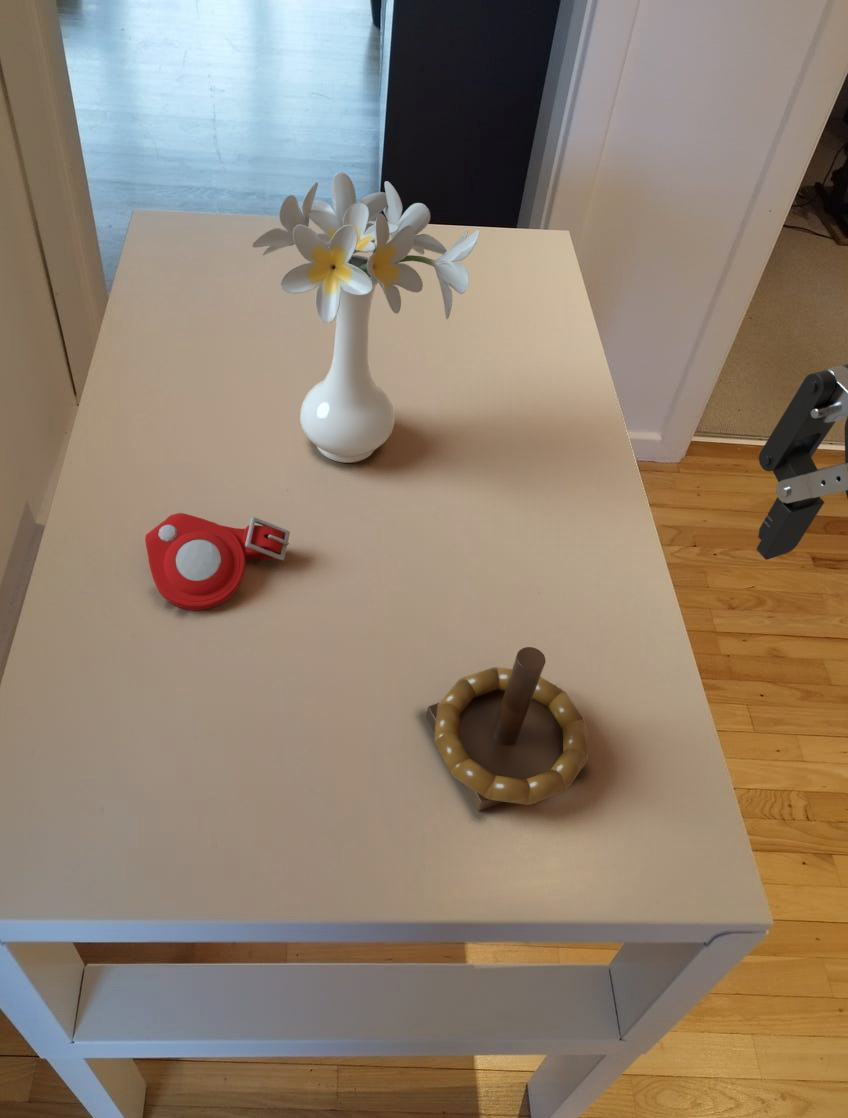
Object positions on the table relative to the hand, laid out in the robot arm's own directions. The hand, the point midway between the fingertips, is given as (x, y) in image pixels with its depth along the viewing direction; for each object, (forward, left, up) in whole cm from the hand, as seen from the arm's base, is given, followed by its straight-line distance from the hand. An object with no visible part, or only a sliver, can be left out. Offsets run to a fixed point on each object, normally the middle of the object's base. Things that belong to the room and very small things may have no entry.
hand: (826, 608), depth 47 cm
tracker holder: (+23, -36, -26) cm, 50 cm away
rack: (+8, -11, -26) cm, 29 cm away
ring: (+8, -10, -24) cm, 27 cm away
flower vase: (+5, -48, -26) cm, 55 cm away
